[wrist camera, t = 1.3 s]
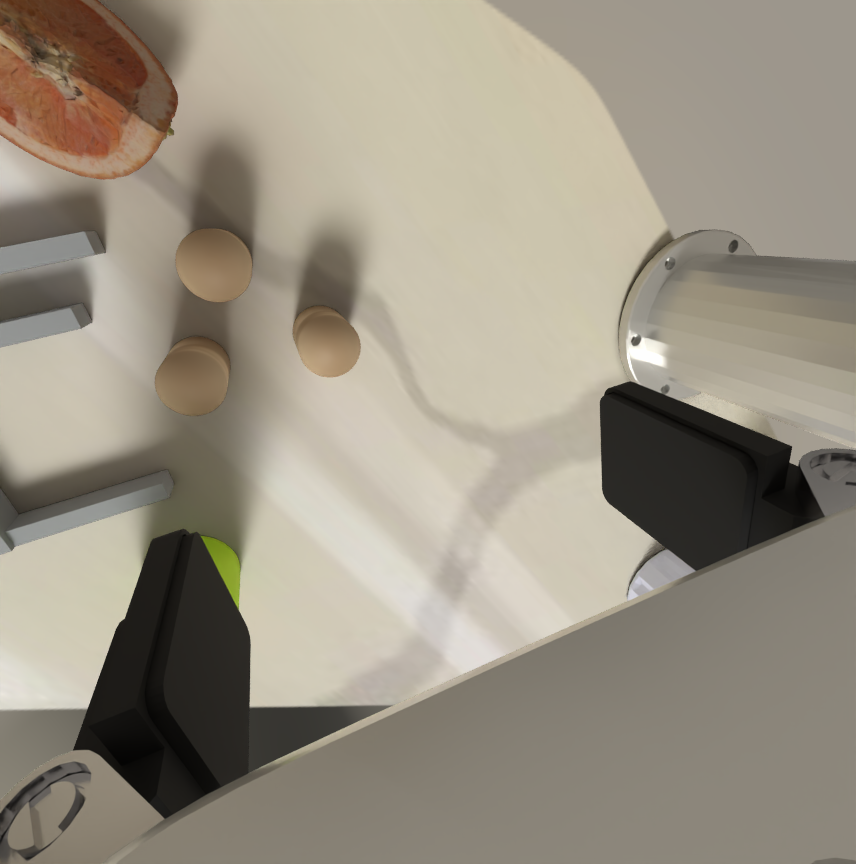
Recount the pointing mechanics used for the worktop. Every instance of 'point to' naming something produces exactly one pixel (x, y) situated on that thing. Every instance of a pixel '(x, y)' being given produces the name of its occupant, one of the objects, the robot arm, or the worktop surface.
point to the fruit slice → (81, 88)
